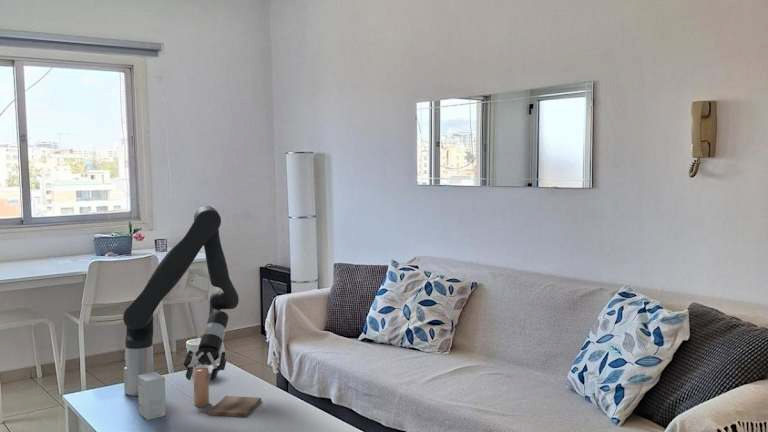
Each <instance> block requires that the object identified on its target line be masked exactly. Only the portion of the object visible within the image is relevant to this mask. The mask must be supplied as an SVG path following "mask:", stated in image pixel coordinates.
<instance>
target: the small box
mask: <svg viewBox="0 0 768 432" xmlns="http://www.w3.org/2000/svg"><path fill="white" fill-rule="evenodd" d="M165 378H166V377H165V376H163V375H162V374H160V373H159V372H157V371H153V373H147V374H142V375H138V396H137V398H138V414H139V415H140V416H142V417H143V418H144V419H145V420H152V419H154V420H155V419H156V418H162V417H165V416H166V415H167V413H166V412H167V411H166V410H167V409H166V405H167V404H166V379H165Z"/></svg>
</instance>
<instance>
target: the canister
mask: <svg viewBox="0 0 768 432" xmlns="http://www.w3.org/2000/svg"><path fill="white" fill-rule="evenodd" d="M193 371H194V376H193V405H194V406H195V407H205V405H206V406H207V405H209V404H210V377H209V367H208V368H196V369H194V370H193Z"/></svg>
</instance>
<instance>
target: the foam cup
mask: <svg viewBox="0 0 768 432" xmlns="http://www.w3.org/2000/svg"><path fill="white" fill-rule="evenodd" d="M201 338H202V337H201ZM201 338H192V339H189V340H187V341H186V342H185V345H186V346H185V349H186V351H187V353H188V351H190V350H191V351H192V352H197V351H198V348H199V344H200V341H201ZM195 358H196V356H195V357H194V358H192V361H193V359H195ZM192 361H191V362H192ZM197 362H198V361H197ZM196 368H208V369H209V365H201V364H200V365H199V366H198V367H196ZM196 368H195V369H196ZM193 370H194V369H193ZM192 376H193V377H194V371H193V373H192Z"/></svg>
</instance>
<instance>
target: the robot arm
mask: <svg viewBox="0 0 768 432" xmlns="http://www.w3.org/2000/svg"><path fill="white" fill-rule="evenodd" d="M221 225H222V218H221V216H220V212H218V210H216V209H215V208H214V207H212V206H210V205H203V206H201V207H199V208H198V209H197V210H196V212H195V213H194V216H193V222H192V224H191V226H190V228H189V230H188V231H187V233H186V234H185V236H183V238H182V239H181V240H180V241H179V242H177V243H176V244H175V245H174V246H173V247H172V248H171V249H169V251H168V252H167V253H166V255H165V256H164V257H163V258H162V259H161V261H160V262H159V264H158V265H157V267H156V268H155V270H153V273H152V274H151V276H150V278H149V280H147V283H146V285H145V287H144V289H143V290H142V291H141V293H140V294H139V295H138V296H137V297H136V298H135V299H134V301H132V302H131V303H130V304H129V305H128V306H127V307H126V309H124V312H123V315H122V318H123V319H122V320H123V323H124V325H125V326H126V335H125V367H123V381H124V382H123V386H124V387H123V388H124V389H123V390H124V394H125V395H128V396H131V397H138V375H142V374H147V373H153V372H154V347H153V346H154V345H153V338H154V313H155V311H156V310H157V308H158V306H159V305H160V303H161V302H162V301H163V299H164V298H165V297H166V296H167V295H168V294H169V293H170V292H171V291H172V290H173V289H174V287H176V285H177V284H178V283H179V282H180V281H181V280H182V277H184V275H185V274H186V272H187V271H188V270H189V268H190V266H191V265H192V263H193V261H195V259H196V257H197V256H198V254H199V252H200V251H201V249H202V248H203V249H204V254H205V255H204V256H205V259H206V267H207V271H208V273H207V274H208V276H209V281H210V285H212V287H215V288H219V289H221V290H216V291H214V292H212V293H211V295H210V297H209V313H208V314H209V315H208V319H207V321H206V325H205V327H204V328H203V329H204V330H203V332H202V335H201V341H200V344H199V348H198V351H197V352H192V351H191V350H190V351H188V352H187V354H186V357H185V360H184V362H183V366H184V367H185V369H186V373H185V377H186V380H188V381H191V379H192V376H193V375H192V373H193V369H195V368H196V367H198V366H199V365H200V364H201V365H208V366H210V365H212V367H213V368H212V370H211V373H210V377H209V381H211V382H214V381H215V380H216V379H217V376H218V373H219V372H220V371H224V370H225V368H226V364H227V360H228V359H227V358H228V355H227V353H226V352H225V351H223V352H221V349H222V345H223V342H224V340H225V335H226V329H227V325H228V322H229V315H228V314H227V313H226V312H225V311H223V310H233V309H236V307H238V304H239V300H240V299H239V294H238V292H237V289H236V288H235V286H234V284H233V283H232V282H233V281H232V280H231V279H230V274H229V268H228V265H227V261H226V257H225V254H224V253H225V252H224V250H223V248H222V247H223V246H222V243H221V238H220V227H221ZM195 356H196V358H195V359H193V361H192V358H194V357H195ZM218 359H220V361H219V364H217V363H216V361H217V360H218ZM191 361H192V362H191ZM197 361H198V362H197Z"/></svg>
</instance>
